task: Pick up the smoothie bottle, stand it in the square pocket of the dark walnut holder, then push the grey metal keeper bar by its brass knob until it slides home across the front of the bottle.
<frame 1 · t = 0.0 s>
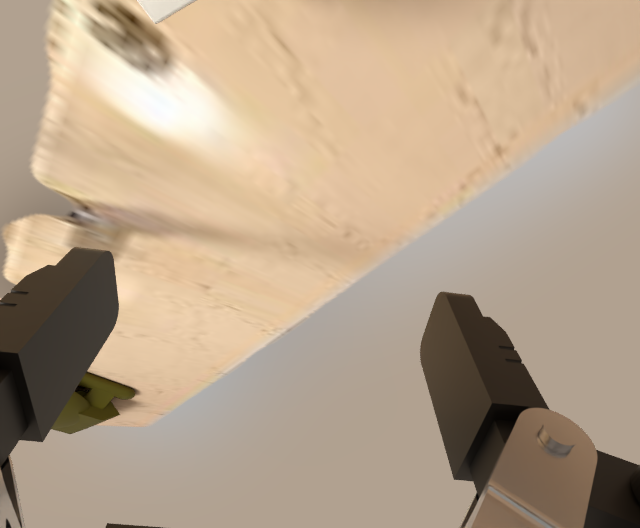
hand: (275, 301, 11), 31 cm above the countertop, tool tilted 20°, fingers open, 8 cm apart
spaceship: (37, 378, 100), on the countertop
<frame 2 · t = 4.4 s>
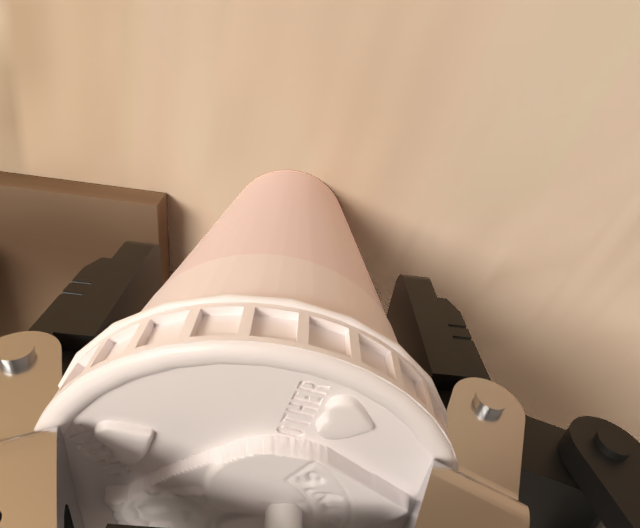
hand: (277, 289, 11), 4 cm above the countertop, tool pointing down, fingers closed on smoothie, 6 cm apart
smoothie: (288, 220, 15), on the countertop, touching gripper
when the fingers open (6 cm above the countertop, at t = 11.5 s): smoothie drops 1 cm, resting on holder.
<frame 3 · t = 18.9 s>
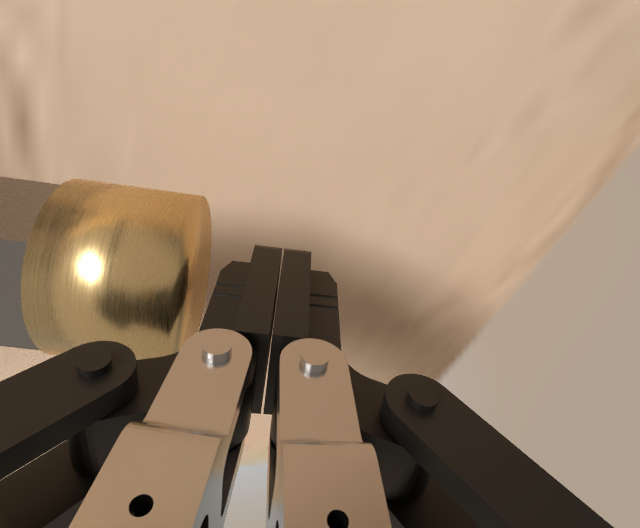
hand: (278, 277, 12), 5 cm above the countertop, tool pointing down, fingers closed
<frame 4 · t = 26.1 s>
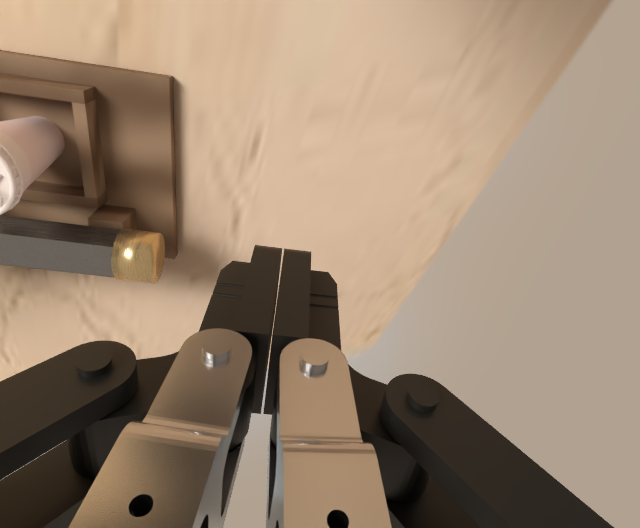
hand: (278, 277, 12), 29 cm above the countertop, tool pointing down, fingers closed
smoothie: (43, 137, 38), point 1 cm above the countertop, touching holder
holder: (51, 157, 40), on the countertop
keeper bar: (19, 241, 37), point 6 cm above the countertop, slide at 0.0 cm
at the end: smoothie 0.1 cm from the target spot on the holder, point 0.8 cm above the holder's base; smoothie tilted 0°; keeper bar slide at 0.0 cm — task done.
